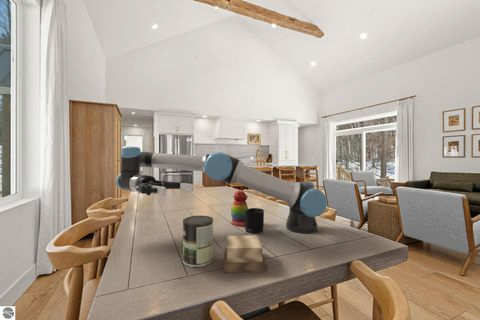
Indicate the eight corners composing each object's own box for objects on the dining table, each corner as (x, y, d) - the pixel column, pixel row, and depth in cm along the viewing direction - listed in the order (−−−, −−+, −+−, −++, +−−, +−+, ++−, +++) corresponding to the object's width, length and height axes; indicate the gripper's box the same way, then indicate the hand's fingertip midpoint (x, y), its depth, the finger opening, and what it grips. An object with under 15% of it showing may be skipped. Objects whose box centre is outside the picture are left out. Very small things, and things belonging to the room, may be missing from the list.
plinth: (259, 253, 80) (259, 234, 80) (266, 271, 67) (266, 248, 67) (224, 254, 79) (224, 235, 79) (224, 272, 66) (223, 249, 66)
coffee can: (180, 268, 69) (180, 224, 69) (185, 254, 80) (185, 215, 79) (212, 266, 70) (212, 223, 70) (213, 252, 80) (213, 215, 80)
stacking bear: (248, 227, 110) (247, 192, 110) (228, 226, 112) (228, 191, 112) (251, 221, 121) (251, 189, 121) (233, 220, 123) (233, 188, 123)
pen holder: (241, 228, 108) (241, 208, 108) (259, 226, 111) (259, 207, 111) (248, 235, 99) (248, 213, 99) (267, 232, 102) (267, 211, 102)
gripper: (167, 190, 102) (201, 195, 91) (113, 196, 80) (149, 205, 69) (167, 174, 102) (202, 177, 91) (113, 176, 80) (150, 181, 69)
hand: (179, 189), depth 80 cm, fingers open, 13 cm apart
